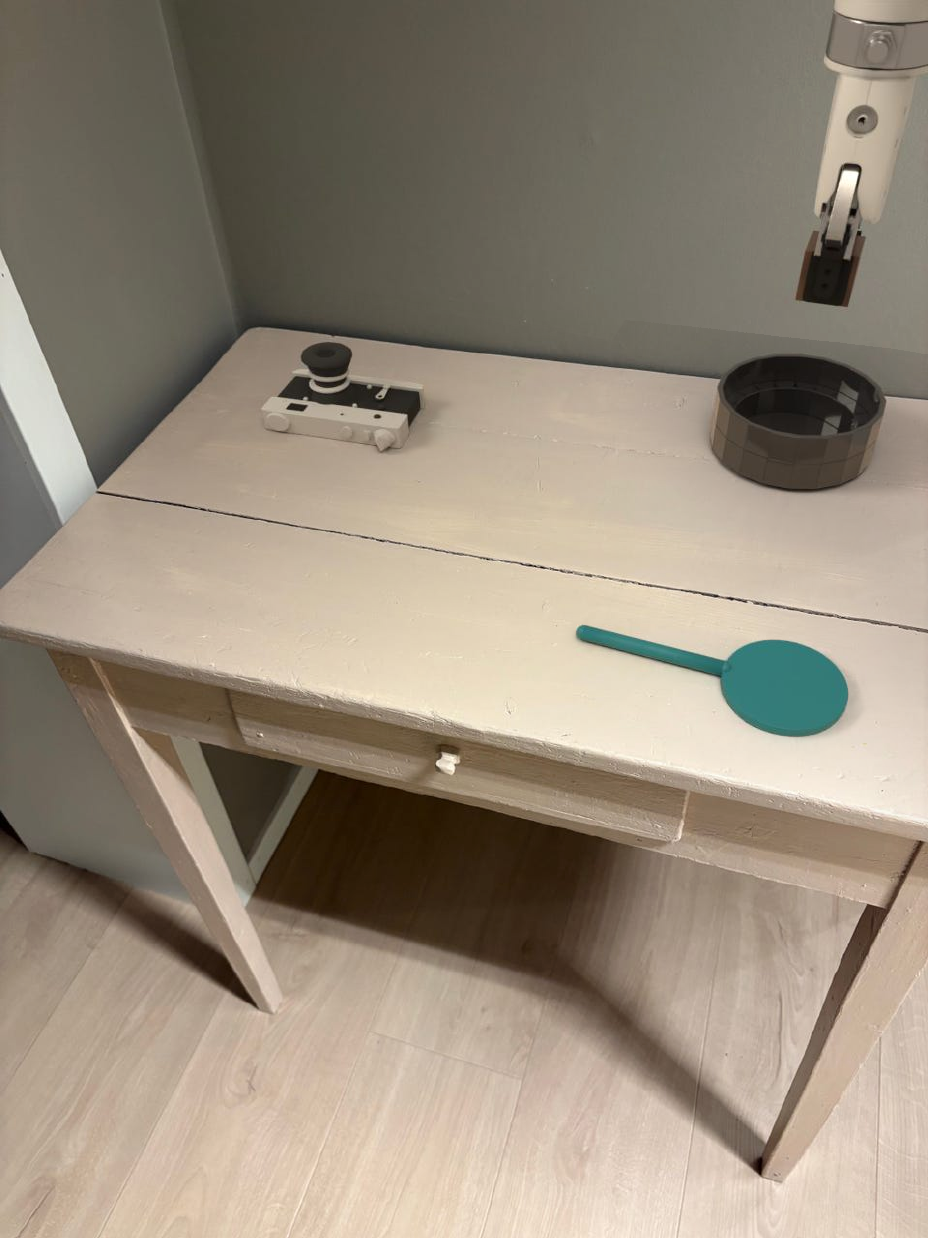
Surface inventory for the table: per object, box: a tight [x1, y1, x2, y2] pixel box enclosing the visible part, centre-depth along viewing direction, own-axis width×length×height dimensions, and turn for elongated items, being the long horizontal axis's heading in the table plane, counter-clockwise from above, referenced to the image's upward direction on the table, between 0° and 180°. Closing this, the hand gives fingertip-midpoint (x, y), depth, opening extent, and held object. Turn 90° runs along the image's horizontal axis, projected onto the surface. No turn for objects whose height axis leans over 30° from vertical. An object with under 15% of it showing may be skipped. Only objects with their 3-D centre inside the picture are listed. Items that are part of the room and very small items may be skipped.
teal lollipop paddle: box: [575, 624, 849, 737], centre depth 73 cm, size 21×9×1 cm, turn 67°
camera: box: [260, 341, 426, 452], centre depth 99 cm, size 15×7×10 cm
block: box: [794, 230, 867, 308], centre depth 79 cm, size 4×4×4 cm
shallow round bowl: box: [709, 353, 887, 490], centre depth 92 cm, size 15×15×6 cm
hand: (826, 286), depth 80 cm, fingers closed on block, 4 cm apart
